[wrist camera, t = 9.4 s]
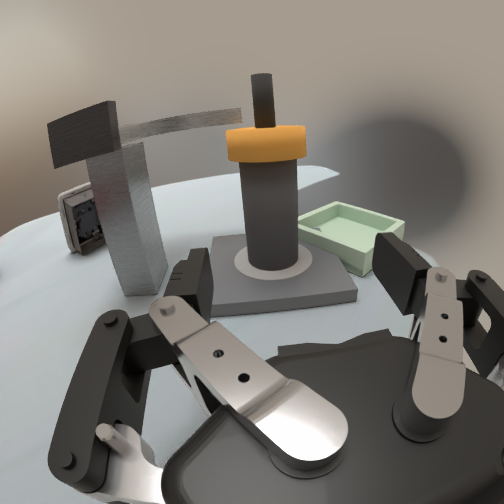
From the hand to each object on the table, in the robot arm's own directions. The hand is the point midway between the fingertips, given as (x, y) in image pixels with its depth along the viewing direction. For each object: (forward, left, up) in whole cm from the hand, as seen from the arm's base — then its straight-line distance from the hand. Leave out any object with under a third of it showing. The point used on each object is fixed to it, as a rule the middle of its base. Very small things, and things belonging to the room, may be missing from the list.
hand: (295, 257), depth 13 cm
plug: (-9, +7, -6) cm, 13 cm away
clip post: (-16, -3, -8) cm, 18 cm away
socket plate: (-9, +7, -8) cm, 14 cm away
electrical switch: (-32, -5, -8) cm, 33 cm away
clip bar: (-15, +1, +5) cm, 16 cm away
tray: (-7, +16, -8) cm, 19 cm away
